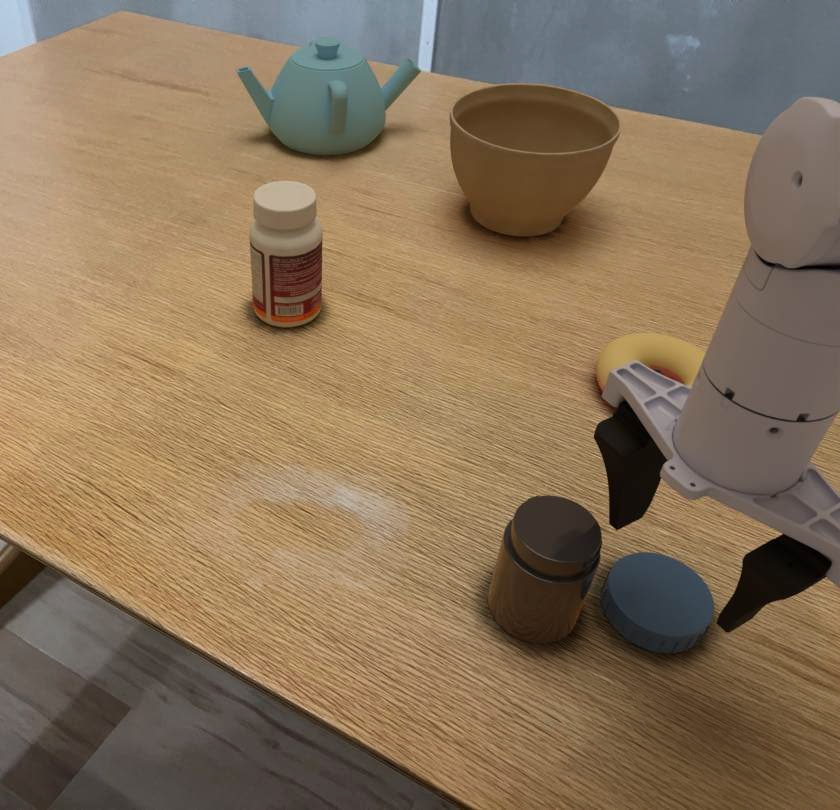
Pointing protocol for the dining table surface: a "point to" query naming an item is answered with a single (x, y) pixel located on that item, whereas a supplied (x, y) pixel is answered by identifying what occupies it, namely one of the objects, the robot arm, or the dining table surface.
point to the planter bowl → (529, 153)
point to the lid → (657, 602)
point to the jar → (544, 569)
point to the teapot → (327, 98)
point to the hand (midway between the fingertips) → (676, 567)
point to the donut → (651, 356)
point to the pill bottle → (286, 254)
